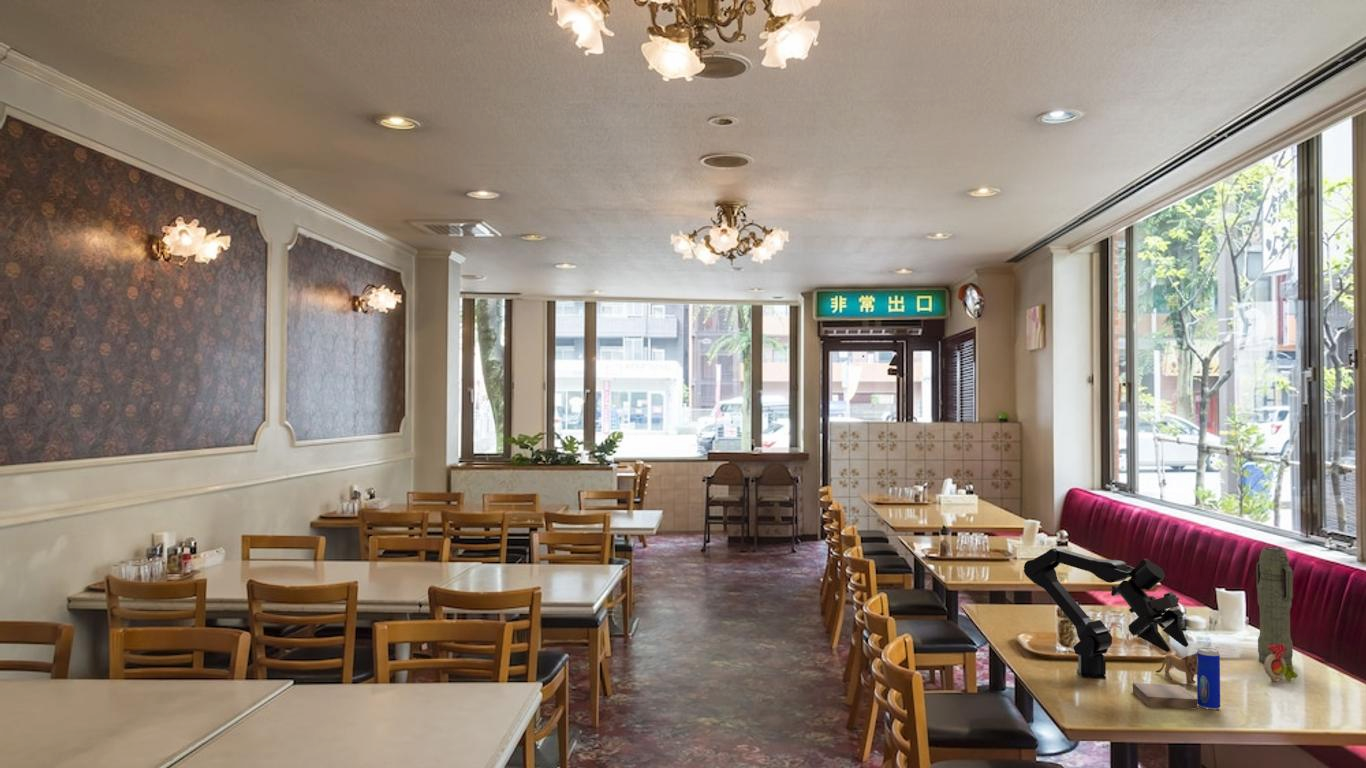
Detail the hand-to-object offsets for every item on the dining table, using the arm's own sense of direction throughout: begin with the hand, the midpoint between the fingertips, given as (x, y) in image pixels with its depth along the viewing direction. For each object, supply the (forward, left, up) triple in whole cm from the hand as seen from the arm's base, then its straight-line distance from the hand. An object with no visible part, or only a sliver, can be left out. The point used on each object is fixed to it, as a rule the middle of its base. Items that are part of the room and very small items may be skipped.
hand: (1178, 648), depth 242 cm
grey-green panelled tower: (+43, +43, -14) cm, 62 cm away
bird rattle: (+35, +23, -14) cm, 44 cm away
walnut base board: (-4, -2, -13) cm, 14 cm away
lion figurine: (+8, +18, -14) cm, 24 cm away
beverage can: (+5, -6, -14) cm, 16 cm away
